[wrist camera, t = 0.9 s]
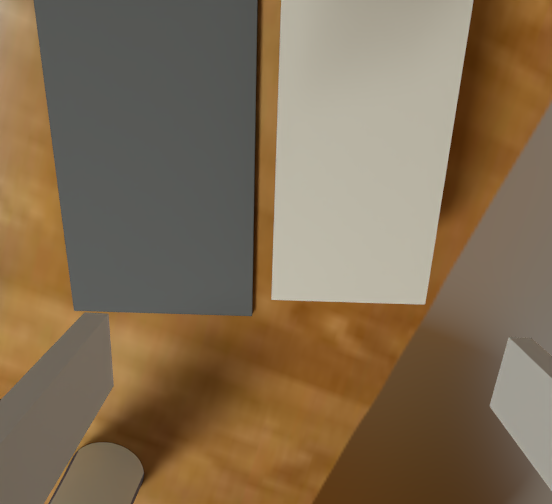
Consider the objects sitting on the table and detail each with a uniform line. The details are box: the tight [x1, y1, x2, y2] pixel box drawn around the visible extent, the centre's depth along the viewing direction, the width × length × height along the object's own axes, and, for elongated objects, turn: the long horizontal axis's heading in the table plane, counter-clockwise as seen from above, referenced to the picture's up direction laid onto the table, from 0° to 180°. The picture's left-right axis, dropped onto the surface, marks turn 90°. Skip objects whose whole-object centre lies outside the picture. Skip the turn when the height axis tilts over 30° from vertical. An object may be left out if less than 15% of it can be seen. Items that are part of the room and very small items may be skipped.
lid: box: [272, 0, 473, 304], centre depth 27 cm, size 22×11×3 cm, turn 178°
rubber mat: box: [34, 0, 258, 316], centre depth 33 cm, size 28×16×1 cm, turn 178°
